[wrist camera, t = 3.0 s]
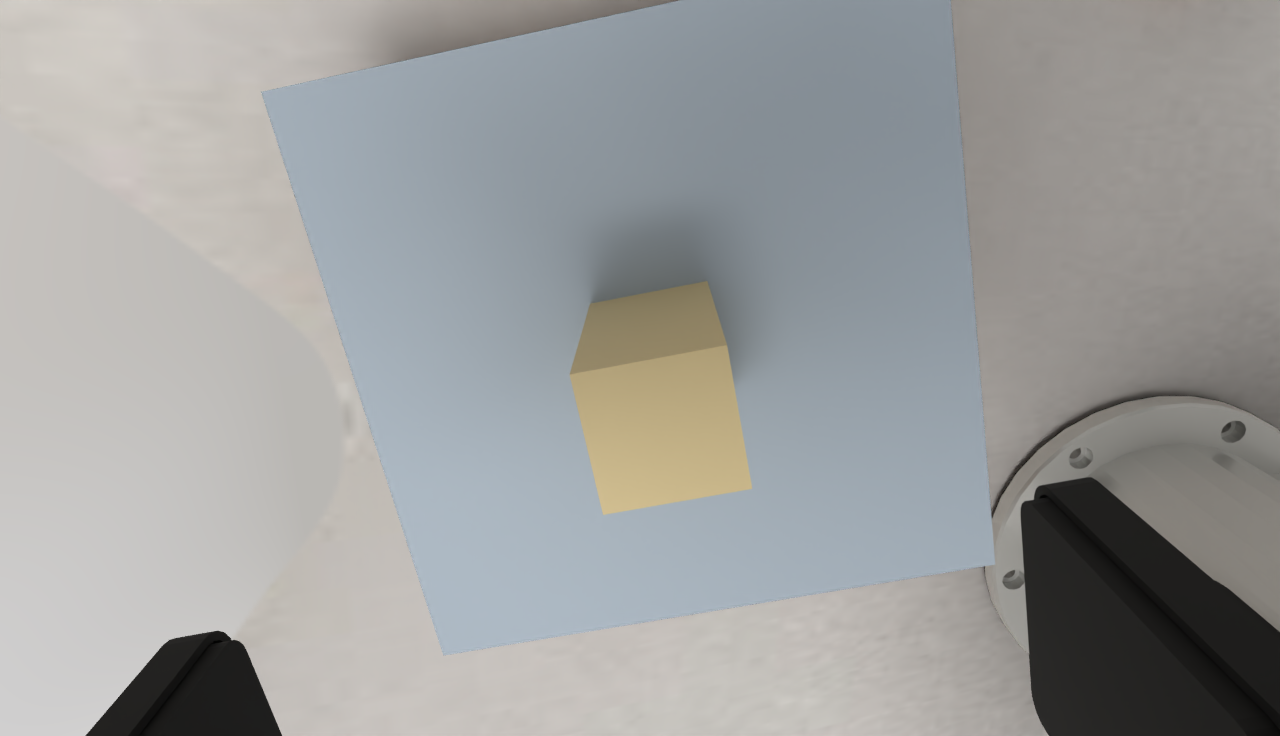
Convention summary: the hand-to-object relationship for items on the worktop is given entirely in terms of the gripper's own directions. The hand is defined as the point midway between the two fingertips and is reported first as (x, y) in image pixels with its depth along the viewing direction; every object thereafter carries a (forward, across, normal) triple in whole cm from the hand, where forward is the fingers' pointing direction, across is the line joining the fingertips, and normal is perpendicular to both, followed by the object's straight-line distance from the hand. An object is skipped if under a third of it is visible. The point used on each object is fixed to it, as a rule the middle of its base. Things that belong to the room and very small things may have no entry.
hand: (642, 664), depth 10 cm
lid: (+14, 0, 0) cm, 15 cm away
